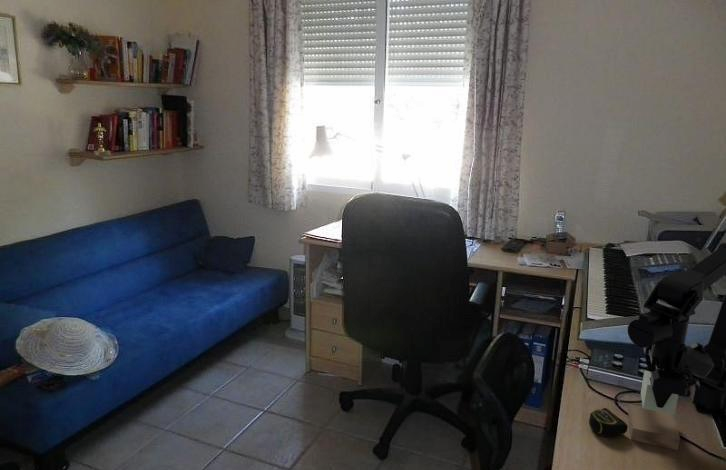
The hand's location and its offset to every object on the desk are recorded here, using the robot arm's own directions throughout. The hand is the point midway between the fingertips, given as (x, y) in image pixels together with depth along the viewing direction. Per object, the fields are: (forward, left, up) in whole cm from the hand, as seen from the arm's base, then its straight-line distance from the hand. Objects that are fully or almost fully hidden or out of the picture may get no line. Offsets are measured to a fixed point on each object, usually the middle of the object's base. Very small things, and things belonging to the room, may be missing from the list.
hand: (658, 399), depth 115 cm
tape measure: (+10, +3, -9) cm, 13 cm away
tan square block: (0, 0, -9) cm, 9 cm away
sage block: (0, 0, -1) cm, 1 cm away
